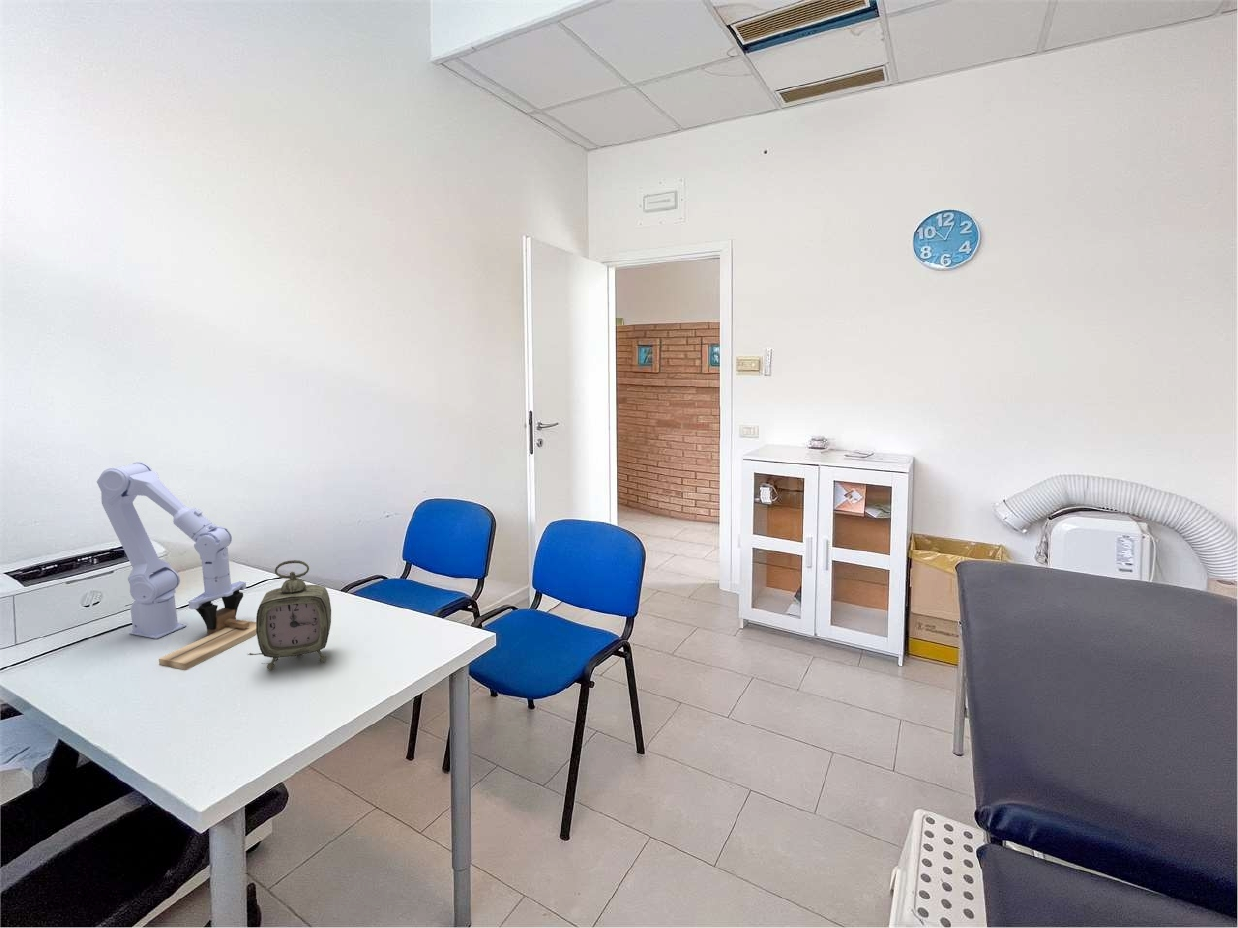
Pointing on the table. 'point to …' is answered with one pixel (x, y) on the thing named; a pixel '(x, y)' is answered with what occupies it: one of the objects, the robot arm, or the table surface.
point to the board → (208, 647)
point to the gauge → (227, 620)
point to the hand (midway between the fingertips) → (221, 624)
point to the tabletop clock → (293, 618)
